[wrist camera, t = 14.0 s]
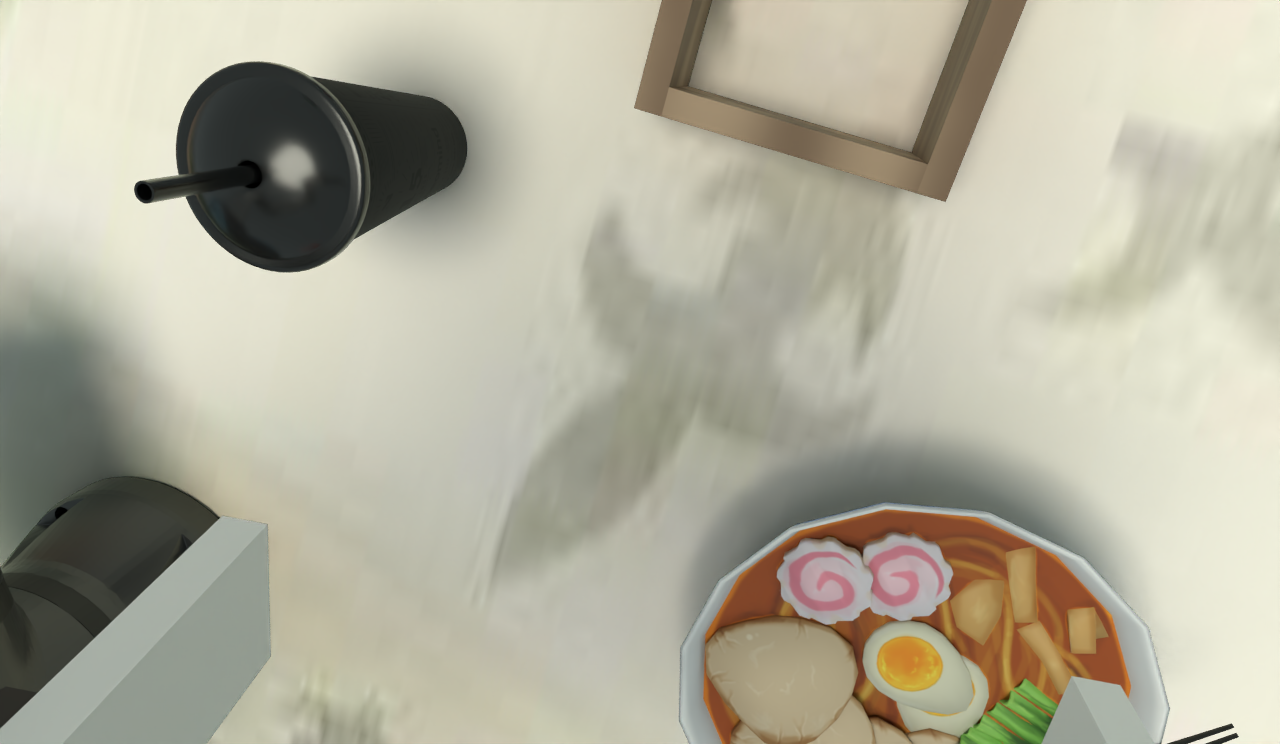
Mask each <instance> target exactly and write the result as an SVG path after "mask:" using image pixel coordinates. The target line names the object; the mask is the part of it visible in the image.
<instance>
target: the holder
mask: <svg viewBox="0 0 1280 744" xmlns="http://www.w3.org/2000/svg"><path fill="white" fill-rule="evenodd" d="M1026 1H1027V0H969V2H968V5H967V8H966V10H965V13H964V16H963V18H962V21H961V23H960V26H959V29H958V31H957V34H956V37H955V39H954V42H953V44H952V47H951V50H950V52H949V55H948V58H947V60H946V63H945V66H944V68H943V71H942V73H941V76H940V79H939V81H938V84H937V87H936V89H935V92H934V94H933V97H932V100H931V102H930V105H929V108H928V110H927V113H926V115H925V118H924V121H923V123H922V126H921V129H920V131H919V134H918V136H917V139H916V142H915V144H914V147H913V150H912V152H907V151H904V150H901V149H897V148H894V147H891V146H887V145H884V144H881V143H877V142H874V141H870V140H867V139H864V138H860V137H857V136H854V135H850V134H847V133H843V132H840V131H837V130H833V129H830V128H827V127H823V126H820V125H817V124H813V123H810V122H806V121H803V120H800V119H796V118H793V117H790V116H786V115H783V114H780V113H776V112H773V111H769V110H766V109H763V108H759V107H756V106H753V105H749V104H746V103H743V102H739V101H736V100H732V99H729V98H726V97H722V96H719V95H716V94H712V93H709V92H705V91H702V90H699V89H695V88H692V87H689V86H688V85H689V81H690V77H691V74H692V70H693V67H694V63H695V59H696V56H697V52H698V49H699V45H700V41H701V38H702V34H703V31H704V27H705V23H706V20H707V16H708V13H709V9H710V5H711V2H712V0H662V2H661V6H660V10H659V14H658V18H657V21H656V25H655V29H654V33H653V37H652V41H651V45H650V49H649V52H648V56H647V60H646V64H645V68H644V72H643V76H642V80H641V83H640V87H639V91H638V95H637V99H636V103H635V107H634V108H635V109H639V110H642V111H645V112H649V113H652V114H655V115H658V116H662V117H665V118H668V119H672V120H675V121H678V122H682V123H685V124H688V125H692V126H695V127H698V128H702V129H705V130H708V131H712V132H715V133H718V134H722V135H725V136H728V137H732V138H735V139H738V140H742V141H745V142H748V143H752V144H755V145H758V146H762V147H765V148H768V149H772V150H775V151H778V152H781V153H785V154H788V155H791V156H795V157H798V158H801V159H805V160H808V161H811V162H815V163H818V164H821V165H825V166H828V167H831V168H835V169H838V170H841V171H845V172H848V173H851V174H855V175H858V176H861V177H865V178H868V179H871V180H875V181H878V182H881V183H885V184H888V185H891V186H895V187H898V188H901V189H904V190H908V191H911V192H914V193H918V194H921V195H924V196H928V197H931V198H934V199H938V200H941V201H944V202H946V199H947V197H948V194H949V192H950V189H951V187H952V185H953V182H954V180H955V177H956V175H957V172H958V170H959V167H960V165H961V162H962V160H963V157H964V155H965V152H966V150H967V147H968V145H969V142H970V140H971V137H972V135H973V132H974V130H975V128H976V125H977V123H978V120H979V118H980V115H981V113H982V110H983V108H984V105H985V103H986V100H987V98H988V95H989V93H990V90H991V88H992V85H993V83H994V80H995V78H996V76H997V73H998V71H999V68H1000V66H1001V63H1002V61H1003V58H1004V56H1005V53H1006V51H1007V48H1008V46H1009V43H1010V41H1011V38H1012V36H1013V33H1014V31H1015V28H1016V26H1017V23H1018V21H1019V19H1020V16H1021V14H1022V11H1023V9H1024V6H1025V4H1026Z"/></svg>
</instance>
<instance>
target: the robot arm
mask: <svg viewBox="0 0 1280 744" xmlns="http://www.w3.org/2000/svg"><path fill="white" fill-rule="evenodd" d="M270 656H271V649H270V605H269V561H268V524H264V523H258V522H253V521H248V520H242V519H237V518H232V517H226V516H222V517H221V518H220V519H218V518H217V517H216V516H214V515H213V514H212V513H211V512H210V511H209V510H207V509H206V508H205V507H204V506H202V505H201V504H200V503H198V502H197V501H195V500H194V499H192V498H191V497H189V496H187V495H186V494H184V493H182V492H180V491H178V490H176V489H174V488H172V487H169V486H167V485H164V484H161V483H158V482H155V481H151V480H147V479H141V478H133V477H117V478H109V479H105V480H101V481H98V482H95V483H93V484H91V485H89V486H87V487H85V488H83V489H82V490H80V491H78V492H76V493H75V494H73V495H71V496H69V497H67V498H66V499H64V500H62V501H61V502H59V503H58V504H57V505H55V506H54V507H53V508H52V509H50V510H49V511H48V512H47V513H46V514H45V515H44V516H43V517H42V519H41V520H40V521H39V522H38V524H37V525H36V526H35V527H34V528H33V529H32V531H31V532H30V533H29V534H28V535H27V536H26V538H25V539H24V540H23V541H22V542H21V543H20V545H19V546H18V547H17V548H16V549H15V551H14V552H13V553H12V554H11V555H10V556H9V558H8V559H7V560H6V561H5V562H4V563H3V565H2V566H1V567H0V744H206V743H207V742H208V741H209V739H210V738H211V737H212V735H213V734H214V733H215V731H216V730H217V729H218V727H219V726H220V724H221V723H222V722H223V720H224V719H225V718H226V716H227V715H228V714H229V712H230V711H231V709H232V708H233V707H234V705H235V704H236V703H237V701H238V700H239V699H240V697H241V696H242V694H243V693H244V692H245V690H246V689H247V688H248V686H249V685H250V684H251V682H252V681H253V680H254V678H255V677H256V675H257V674H258V673H259V671H260V670H261V669H262V667H263V666H264V665H265V663H266V662H267V660H268V659H269V658H270ZM1042 744H1154V742H1153V740H1152V738H1151V737H1150V735H1149V733H1148V732H1147V730H1146V728H1145V726H1144V725H1143V723H1142V721H1141V720H1140V718H1139V716H1138V715H1137V713H1136V711H1135V709H1134V708H1133V706H1132V704H1131V703H1130V701H1129V699H1128V698H1127V696H1126V694H1125V692H1124V691H1123V689H1122V687H1121V686H1120V685H1117V684H1111V683H1106V682H1101V681H1096V680H1090V679H1085V678H1080V677H1074V676H1071V678H1070V681H1069V683H1068V685H1067V687H1066V690H1065V692H1064V694H1063V696H1062V699H1061V701H1060V703H1059V705H1058V708H1057V710H1056V712H1055V714H1054V717H1053V719H1052V721H1051V723H1050V726H1049V728H1048V730H1047V732H1046V735H1045V737H1044V739H1043V742H1042Z"/></svg>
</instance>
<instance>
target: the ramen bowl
mask: <svg viewBox="0 0 1280 744" xmlns="http://www.w3.org/2000/svg"><path fill="white" fill-rule="evenodd" d="M1071 676H1074V677H1080V678H1085V679H1090V680H1096V681H1101V682H1106V683H1111V684H1117V685H1120V686H1121V687H1122V689H1123V691H1124V692H1125V694H1126V696H1127V698H1128V699H1129V701H1130V703H1131V704H1132V706H1133V708H1134V709H1135V711H1136V713H1137V715H1138V716H1139V718H1140V720H1141V721H1142V723H1143V725H1144V726H1145V728H1146V730H1147V732H1148V733H1149V735H1150V737H1151V738H1152V740H1153V742H1154V744H1161V743H1162V739H1163V735H1164V731H1165V727H1166V723H1167V718H1168V714H1169V710H1170V707H1169V703H1168V700H1167V696H1166V692H1165V688H1164V684H1163V681H1162V677H1161V673H1160V669H1159V665H1158V661H1157V658H1156V654H1155V650H1154V646H1153V642H1152V639H1151V635H1150V631H1149V627H1148V626H1147V625H1146V624H1145V623H1144V622H1143V621H1142V620H1141V619H1140V617H1139V616H1138V615H1137V614H1136V613H1135V612H1134V611H1133V610H1132V609H1131V608H1130V607H1129V606H1128V604H1127V603H1126V602H1125V601H1124V600H1123V599H1122V598H1121V597H1120V596H1119V595H1118V594H1117V593H1116V592H1115V590H1114V589H1113V588H1112V587H1111V586H1110V585H1109V584H1108V583H1107V582H1106V581H1105V580H1104V579H1103V577H1102V576H1101V575H1100V574H1099V573H1098V572H1097V571H1096V570H1095V569H1094V568H1093V567H1092V566H1091V565H1090V563H1089V562H1088V561H1087V560H1086V559H1085V558H1084V557H1082V556H1080V555H1078V554H1076V553H1073V552H1071V551H1069V550H1067V549H1065V548H1063V547H1061V546H1059V545H1057V544H1055V543H1053V542H1050V541H1048V540H1046V539H1044V538H1042V537H1040V536H1038V535H1036V534H1034V533H1032V532H1030V531H1027V530H1025V529H1023V528H1021V527H1019V526H1017V525H1015V524H1013V523H1011V522H1009V521H1007V520H1004V519H1002V518H1000V517H998V516H996V515H994V514H992V513H989V512H984V511H979V510H969V509H958V508H946V507H934V506H922V505H911V504H899V503H887V502H883V503H879V504H875V505H871V506H867V507H863V508H859V509H855V510H851V511H847V512H843V513H839V514H835V515H831V516H827V517H823V518H819V519H815V520H811V521H807V522H803V523H799V524H796V525H794V526H792V527H790V528H788V529H787V530H786V531H784V532H783V533H782V534H780V535H779V536H778V537H776V538H775V539H774V540H772V541H771V542H770V543H768V544H767V545H765V546H764V547H763V548H761V549H760V550H759V551H757V552H756V553H755V554H753V555H752V556H751V557H749V558H748V559H747V560H745V561H744V562H743V563H741V564H740V565H738V566H737V567H736V568H734V569H733V570H732V571H730V572H729V573H728V574H726V575H725V576H724V577H722V578H721V579H720V580H718V582H717V584H716V586H715V588H714V589H713V591H712V593H711V595H710V596H709V598H708V600H707V602H706V603H705V605H704V607H703V609H702V611H701V612H700V614H699V616H698V618H697V619H696V621H695V623H694V625H693V627H692V628H691V630H690V632H689V634H688V635H687V637H686V639H685V641H684V642H683V644H682V646H681V651H680V698H679V722H680V724H681V726H682V728H683V731H684V733H685V735H686V738H687V740H688V742H689V744H1042V742H1043V739H1044V737H1045V735H1046V732H1047V730H1048V728H1049V726H1050V723H1051V721H1052V719H1053V717H1054V714H1055V712H1056V710H1057V708H1058V705H1059V703H1060V701H1061V699H1062V696H1063V694H1064V692H1065V690H1066V687H1067V685H1068V683H1069V681H1070V678H1071ZM1232 728H1234V726H1233V725H1232V724H1229V725H1225V726H1222V727H1219V728H1216V729H1213V730H1209V731H1206V732H1203V733H1200V734H1197V735H1194V736H1190V737H1187V738H1184V739H1181V740H1178V741H1174V742H1171V743H1168V744H1188V743H1191V742H1194V741H1197V740H1200V739H1203V738H1205V737H1208V736H1211V735H1214V734H1217V733H1220V732H1223V731H1226V730H1229V729H1232ZM1237 737H1239V736H1238V735H1237V733H1235V734H1232V735H1229V736H1226V737H1223V738H1220V739H1217V740H1215V741H1212V742H1209V743H1206V744H1222V743H1224V742H1227V741H1230V740H1232V739H1235V738H1237Z"/></svg>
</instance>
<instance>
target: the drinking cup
mask: <svg viewBox="0 0 1280 744" xmlns="http://www.w3.org/2000/svg"><path fill="white" fill-rule="evenodd" d="M466 154H467V144H466V137H465V133H464V130H463V128H462V126H461V124H460V122H459V120H458V118H457V117H456V116H455V114H454V113H453V112H452V111H451V110H450V109H449V108H448V107H447V106H445V105H444V104H443V103H441V102H439V101H437V100H435V99H433V98H429V97H425V96H419V95H413V94H408V93H402V92H396V91H390V90H385V89H379V88H373V87H367V86H362V85H356V84H350V83H345V82H339V81H333V80H327V79H322V78H316V77H310V76H308V75H307V74H305V73H303V72H301V71H299V70H296V69H294V68H292V67H288V66H285V65H282V64H277V63H271V62H244V63H238V64H234V65H231V66H228V67H226V68H223V69H221V70H219V71H218V72H216V73H214V74H213V75H211V76H210V77H209V78H207V79H206V80H205V81H204V82H203V83H202V84H201V85H200V86H199V87H198V88H197V89H196V91H195V92H194V93H193V94H192V96H191V97H190V99H189V101H188V102H187V104H186V106H185V108H184V111H183V113H182V116H181V119H180V123H179V127H178V132H177V140H176V159H177V168H178V173H179V175H176V176H170V177H163V178H156V179H149V180H143V181H139V182H137V183H136V185H135V187H134V192H135V195H136V197H137V198H138V200H140V201H141V202H143V203H152V202H158V201H163V200H169V199H174V198H179V197H186V199H187V201H188V203H189V205H190V207H191V209H192V211H193V213H194V214H195V216H196V218H197V219H198V221H199V222H200V224H201V225H202V226H203V228H204V229H205V230H206V231H207V233H208V234H209V235H210V236H211V237H212V238H213V239H214V240H215V241H216V242H217V243H218V244H219V245H220V246H221V247H223V248H224V249H225V250H226V251H228V252H229V253H231V254H232V255H234V256H235V257H237V258H238V259H240V260H242V261H244V262H246V263H248V264H251V265H253V266H256V267H259V268H261V269H265V270H269V271H275V272H300V271H305V270H309V269H312V268H315V267H318V266H320V265H322V264H325V263H327V262H329V261H330V260H332V259H334V258H335V257H336V256H338V255H339V254H340V253H341V252H343V251H344V250H345V249H346V248H347V247H348V245H349V244H350V243H351V242H352V241H353V240H354V239H355V238H357V237H359V236H361V235H362V234H364V233H366V232H368V231H369V230H371V229H373V228H375V227H377V226H378V225H380V224H382V223H384V222H385V221H387V220H389V219H391V218H392V217H394V216H396V215H398V214H400V213H401V212H403V211H405V210H407V209H408V208H410V207H412V206H414V205H415V204H417V203H419V202H421V201H423V200H424V199H426V198H428V197H430V196H431V195H433V194H435V193H437V192H438V191H440V190H442V189H444V188H446V187H447V186H449V185H450V184H451V183H453V182H454V181H455V180H456V178H457V177H458V176H459V174H460V173H461V171H462V169H463V167H464V164H465V160H466Z"/></svg>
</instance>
